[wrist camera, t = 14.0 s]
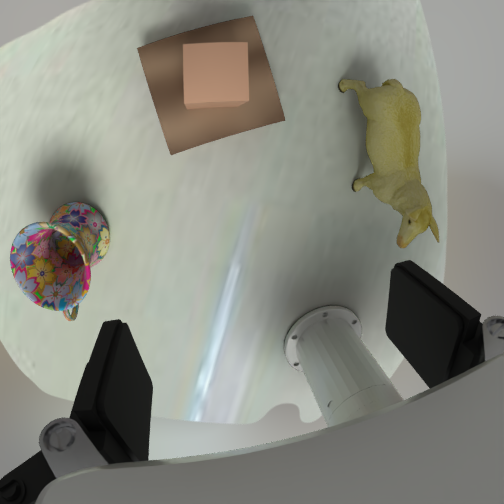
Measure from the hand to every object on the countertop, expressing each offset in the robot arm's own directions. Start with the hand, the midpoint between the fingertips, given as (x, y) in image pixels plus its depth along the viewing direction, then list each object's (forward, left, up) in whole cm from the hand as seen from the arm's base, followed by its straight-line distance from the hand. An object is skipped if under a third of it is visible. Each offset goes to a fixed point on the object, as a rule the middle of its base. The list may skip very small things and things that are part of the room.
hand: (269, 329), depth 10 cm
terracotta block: (+11, -1, -24) cm, 26 cm away
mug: (-4, +18, -28) cm, 34 cm away
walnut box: (+11, -1, -29) cm, 31 cm away
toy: (+2, -19, -29) cm, 34 cm away
